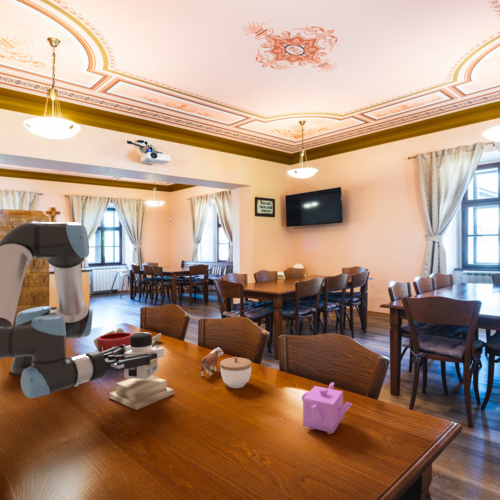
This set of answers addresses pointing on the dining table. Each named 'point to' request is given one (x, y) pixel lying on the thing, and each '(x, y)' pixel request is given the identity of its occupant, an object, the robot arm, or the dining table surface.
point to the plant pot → (113, 340)
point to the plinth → (141, 403)
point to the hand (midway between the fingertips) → (152, 349)
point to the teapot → (323, 408)
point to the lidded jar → (235, 371)
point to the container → (139, 346)
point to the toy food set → (123, 331)
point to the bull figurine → (211, 360)
